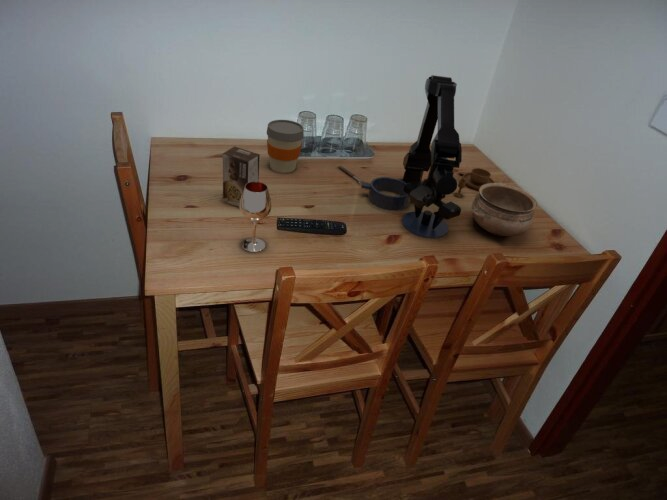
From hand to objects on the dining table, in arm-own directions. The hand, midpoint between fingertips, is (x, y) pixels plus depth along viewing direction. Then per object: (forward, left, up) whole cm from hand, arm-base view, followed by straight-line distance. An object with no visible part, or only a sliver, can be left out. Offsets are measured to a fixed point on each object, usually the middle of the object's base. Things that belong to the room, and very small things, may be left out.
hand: (425, 223), depth 157 cm
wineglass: (+52, -15, -2) cm, 54 cm away
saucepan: (0, -17, -1) cm, 17 cm away
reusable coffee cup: (+19, -52, -2) cm, 55 cm away
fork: (0, -35, -1) cm, 35 cm away
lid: (0, 0, -1) cm, 1 cm away
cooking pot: (-20, +12, -2) cm, 24 cm away
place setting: (-37, -13, -2) cm, 39 cm away
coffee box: (+44, -37, -2) cm, 58 cm away
